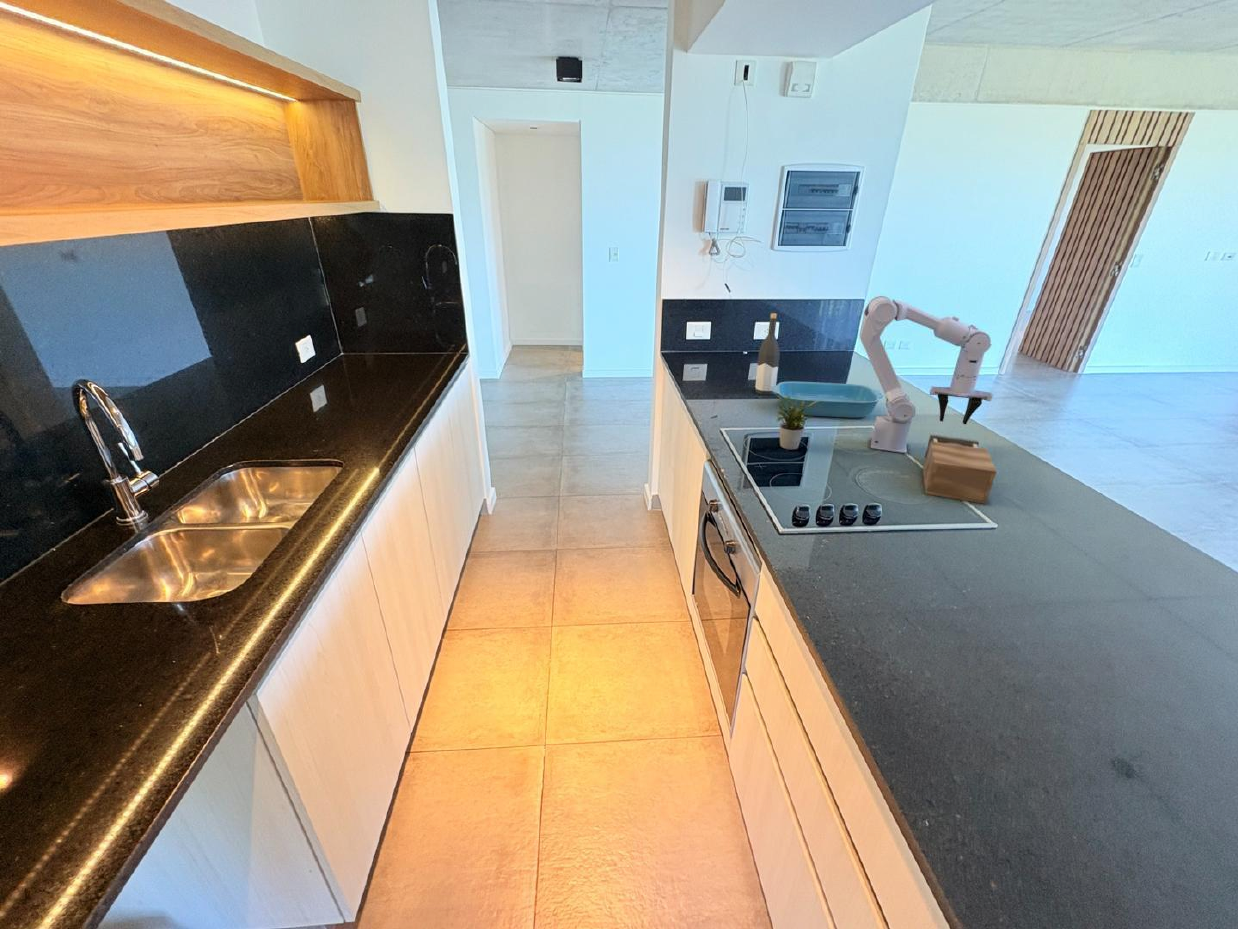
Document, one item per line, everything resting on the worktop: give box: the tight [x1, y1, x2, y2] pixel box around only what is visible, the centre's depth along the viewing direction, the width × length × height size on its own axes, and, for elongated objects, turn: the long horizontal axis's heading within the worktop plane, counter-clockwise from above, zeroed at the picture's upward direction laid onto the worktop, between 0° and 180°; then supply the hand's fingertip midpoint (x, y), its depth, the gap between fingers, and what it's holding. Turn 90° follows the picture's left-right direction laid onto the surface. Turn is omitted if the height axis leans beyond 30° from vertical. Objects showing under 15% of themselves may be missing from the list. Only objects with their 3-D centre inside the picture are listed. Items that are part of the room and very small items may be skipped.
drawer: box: [923, 433, 980, 459], centre depth 141 cm, size 18×11×7 cm, turn 155°
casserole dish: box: [772, 381, 884, 419], centre depth 187 cm, size 37×22×7 cm, turn 78°
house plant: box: [772, 393, 818, 450], centre depth 155 cm, size 14×14×16 cm
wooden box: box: [922, 442, 997, 505], centre depth 132 cm, size 15×13×9 cm
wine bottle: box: [754, 312, 781, 396], centre depth 202 cm, size 8×8×30 cm
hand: (952, 421), depth 149 cm, fingers open, 5 cm apart
